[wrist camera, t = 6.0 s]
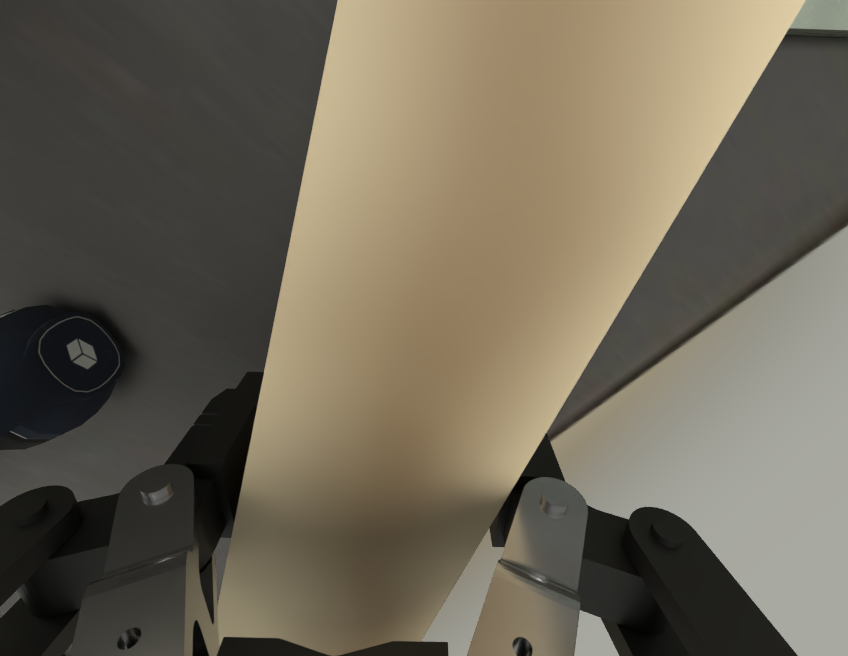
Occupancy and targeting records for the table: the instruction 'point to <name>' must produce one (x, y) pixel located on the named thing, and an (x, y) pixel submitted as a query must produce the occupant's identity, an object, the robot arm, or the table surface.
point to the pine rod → (460, 280)
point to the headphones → (52, 373)
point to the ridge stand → (821, 19)
